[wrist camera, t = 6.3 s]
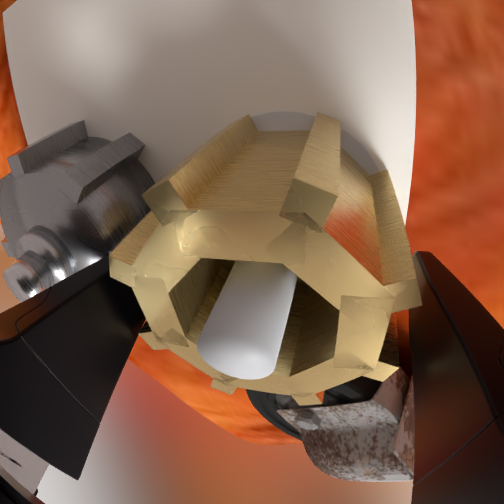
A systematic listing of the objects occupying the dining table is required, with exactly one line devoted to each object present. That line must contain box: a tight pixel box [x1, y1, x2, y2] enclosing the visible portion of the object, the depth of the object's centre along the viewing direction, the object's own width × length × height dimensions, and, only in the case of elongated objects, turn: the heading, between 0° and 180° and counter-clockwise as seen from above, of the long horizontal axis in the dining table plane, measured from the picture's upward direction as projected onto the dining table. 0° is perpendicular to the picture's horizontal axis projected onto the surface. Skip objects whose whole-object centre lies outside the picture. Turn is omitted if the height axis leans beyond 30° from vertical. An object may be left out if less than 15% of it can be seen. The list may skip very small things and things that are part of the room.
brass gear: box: [109, 112, 422, 406], centre depth 9 cm, size 7×7×5 cm
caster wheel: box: [246, 366, 415, 482], centre depth 16 cm, size 7×11×10 cm
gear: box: [0, 120, 155, 302], centre depth 11 cm, size 8×8×6 cm
